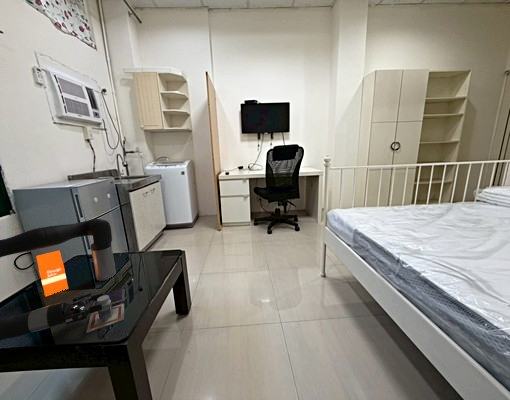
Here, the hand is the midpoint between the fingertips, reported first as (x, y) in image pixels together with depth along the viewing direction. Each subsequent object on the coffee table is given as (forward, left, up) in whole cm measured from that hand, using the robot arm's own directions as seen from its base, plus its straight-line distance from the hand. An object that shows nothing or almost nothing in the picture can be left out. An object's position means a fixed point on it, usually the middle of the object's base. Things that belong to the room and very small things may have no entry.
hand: (102, 300), depth 87 cm
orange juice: (-47, -1, -8) cm, 47 cm away
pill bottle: (0, 0, -7) cm, 7 cm away
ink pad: (-12, +7, -8) cm, 16 cm away
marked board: (0, 0, -8) cm, 8 cm away
